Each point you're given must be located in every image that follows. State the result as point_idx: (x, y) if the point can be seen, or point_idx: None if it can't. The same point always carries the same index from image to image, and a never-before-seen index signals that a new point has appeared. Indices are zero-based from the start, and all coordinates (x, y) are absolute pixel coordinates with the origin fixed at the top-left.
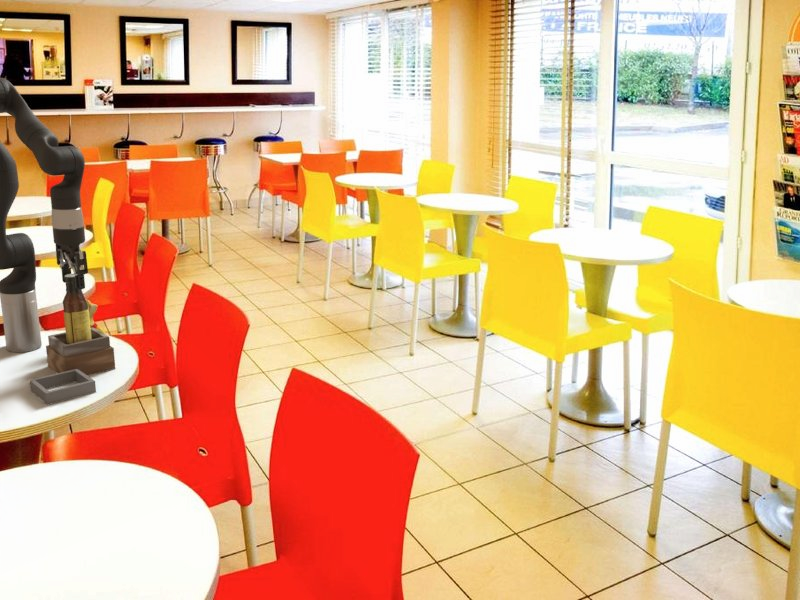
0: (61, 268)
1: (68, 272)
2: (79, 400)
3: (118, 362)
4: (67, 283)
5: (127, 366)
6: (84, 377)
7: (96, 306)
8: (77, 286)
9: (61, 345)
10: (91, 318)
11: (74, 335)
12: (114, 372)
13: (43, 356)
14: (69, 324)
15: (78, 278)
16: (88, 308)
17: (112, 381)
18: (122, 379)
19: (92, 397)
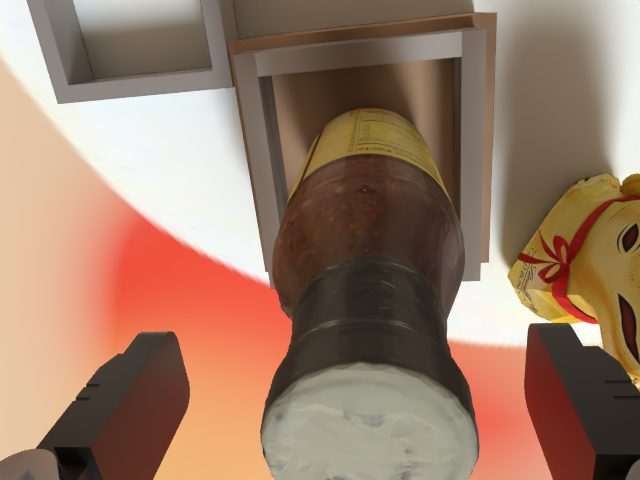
0: (638, 463)
1: (565, 470)
2: (26, 15)
3: None
4: (332, 319)
5: None
6: (115, 80)
7: None
8: (129, 356)
9: (274, 51)
10: (598, 321)
11: (312, 146)
12: (247, 216)
13: (631, 31)
14: (323, 146)
15: (40, 442)
16: (621, 348)
17: (162, 180)
18: (165, 214)
19: (38, 68)
